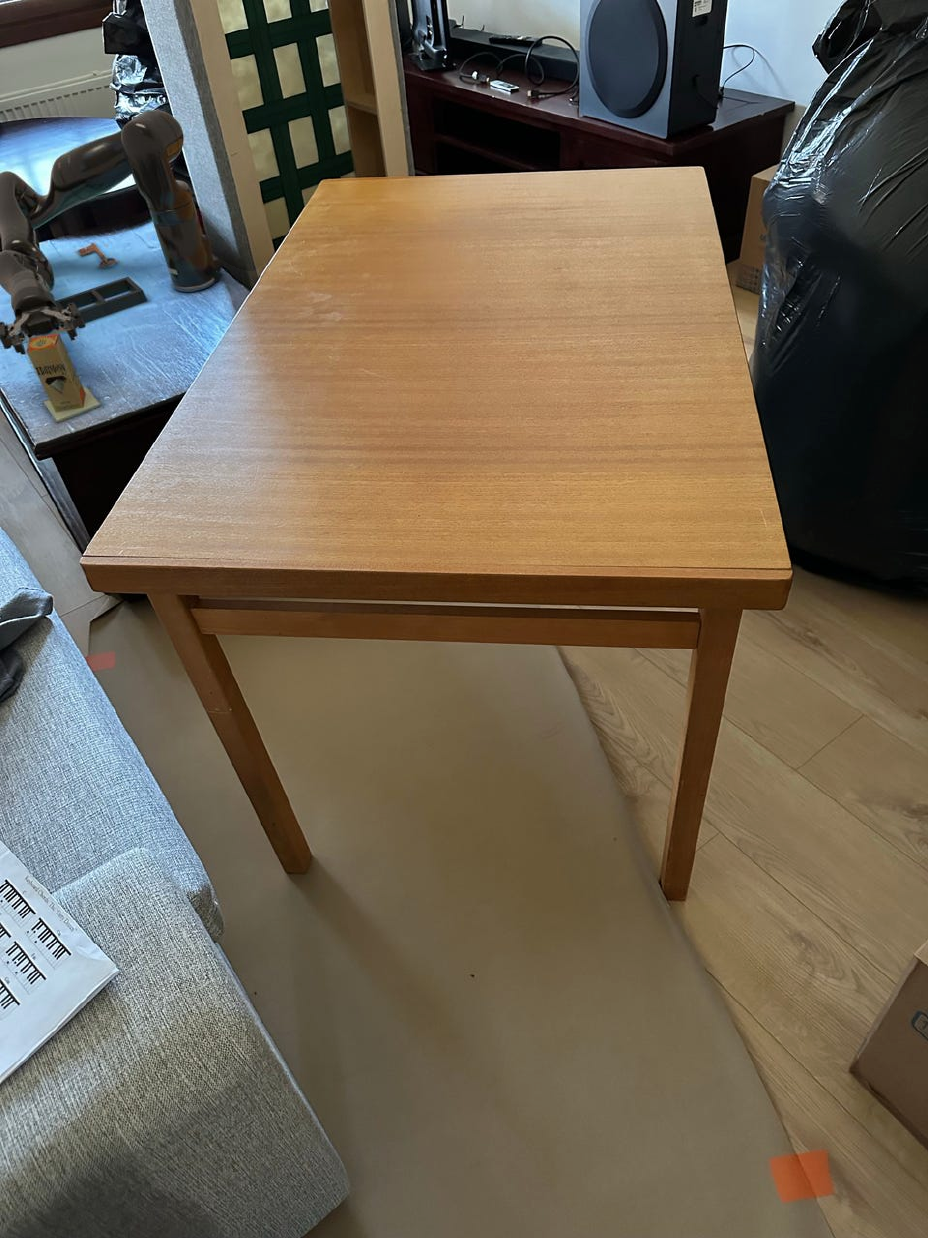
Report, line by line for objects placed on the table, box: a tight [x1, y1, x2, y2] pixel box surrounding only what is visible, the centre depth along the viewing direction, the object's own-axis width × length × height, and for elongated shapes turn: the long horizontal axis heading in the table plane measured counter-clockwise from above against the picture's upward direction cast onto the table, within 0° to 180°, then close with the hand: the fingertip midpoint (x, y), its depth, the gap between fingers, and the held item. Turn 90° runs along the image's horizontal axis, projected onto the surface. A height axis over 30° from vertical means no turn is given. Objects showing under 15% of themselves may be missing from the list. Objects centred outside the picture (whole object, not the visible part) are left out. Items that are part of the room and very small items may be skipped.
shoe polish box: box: [25, 332, 86, 412], centre depth 150 cm, size 5×5×12 cm
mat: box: [43, 386, 101, 423], centre depth 154 cm, size 8×8×1 cm
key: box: [77, 242, 116, 268], centre depth 199 cm, size 6×1×15 cm
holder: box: [55, 276, 147, 323], centre depth 180 cm, size 17×9×2 cm, turn 126°
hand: (46, 342), depth 146 cm, fingers open, 8 cm apart
